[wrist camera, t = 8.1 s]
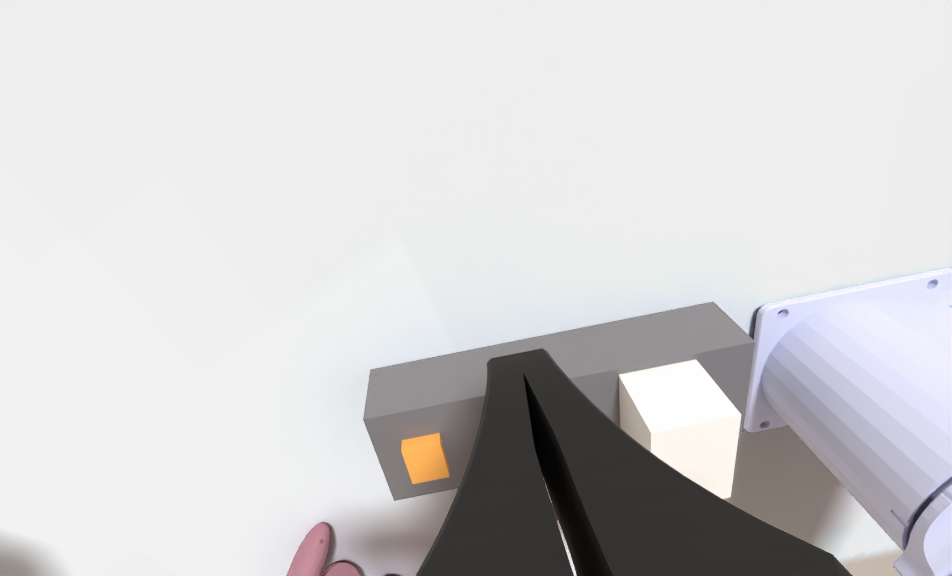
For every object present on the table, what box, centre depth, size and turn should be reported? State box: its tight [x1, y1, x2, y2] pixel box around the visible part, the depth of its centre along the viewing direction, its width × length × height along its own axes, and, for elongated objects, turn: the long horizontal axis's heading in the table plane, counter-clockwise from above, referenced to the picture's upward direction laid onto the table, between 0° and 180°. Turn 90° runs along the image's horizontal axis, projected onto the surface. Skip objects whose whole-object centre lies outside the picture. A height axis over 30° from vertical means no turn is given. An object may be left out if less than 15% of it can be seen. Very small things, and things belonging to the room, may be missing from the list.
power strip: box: [363, 302, 755, 521], centre depth 23 cm, size 16×12×6 cm
